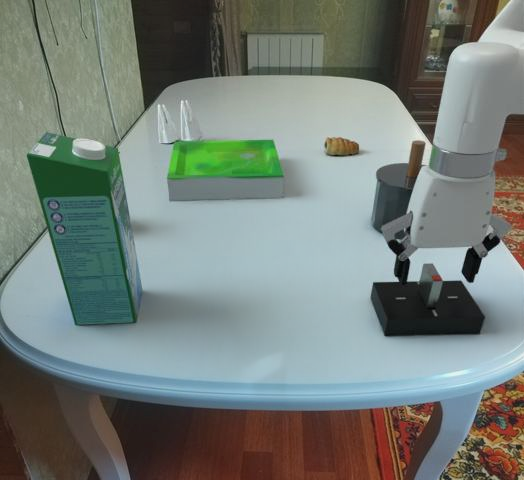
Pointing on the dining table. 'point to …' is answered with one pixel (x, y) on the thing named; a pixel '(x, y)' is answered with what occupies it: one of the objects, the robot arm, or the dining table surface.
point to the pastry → (340, 146)
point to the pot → (389, 207)
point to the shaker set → (188, 125)
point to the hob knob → (430, 285)
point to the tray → (225, 170)
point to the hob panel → (425, 310)
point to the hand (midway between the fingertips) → (433, 279)
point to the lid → (403, 170)
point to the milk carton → (88, 227)
